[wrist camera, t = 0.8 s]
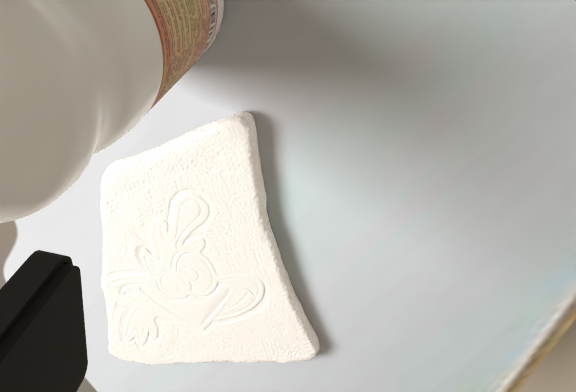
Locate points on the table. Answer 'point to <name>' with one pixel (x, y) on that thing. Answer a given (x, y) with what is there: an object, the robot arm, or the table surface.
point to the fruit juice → (84, 83)
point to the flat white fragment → (197, 255)
